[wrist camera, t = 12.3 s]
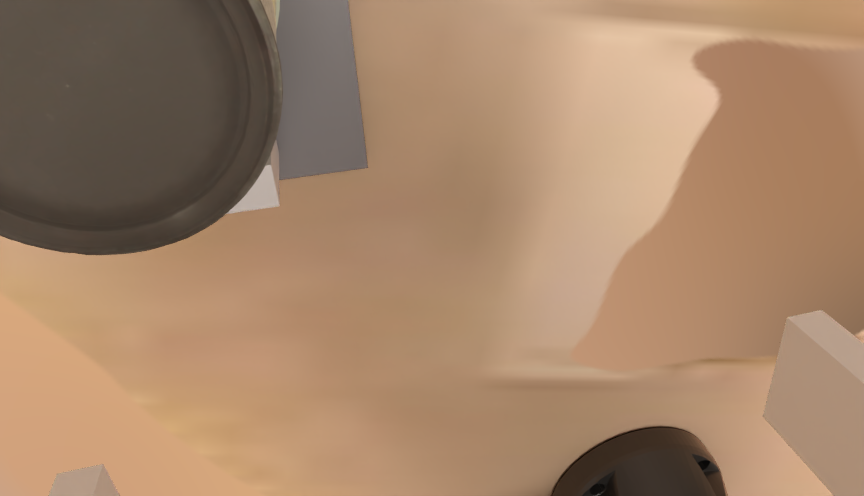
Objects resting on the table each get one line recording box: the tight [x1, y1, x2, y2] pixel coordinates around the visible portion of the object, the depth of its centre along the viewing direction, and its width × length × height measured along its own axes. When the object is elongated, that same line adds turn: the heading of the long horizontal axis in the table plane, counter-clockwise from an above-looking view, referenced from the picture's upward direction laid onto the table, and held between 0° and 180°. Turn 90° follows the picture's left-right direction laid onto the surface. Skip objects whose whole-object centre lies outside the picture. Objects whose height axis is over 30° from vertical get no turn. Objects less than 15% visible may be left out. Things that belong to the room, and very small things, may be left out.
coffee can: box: [0, 0, 283, 255], centre depth 22 cm, size 10×10×14 cm
